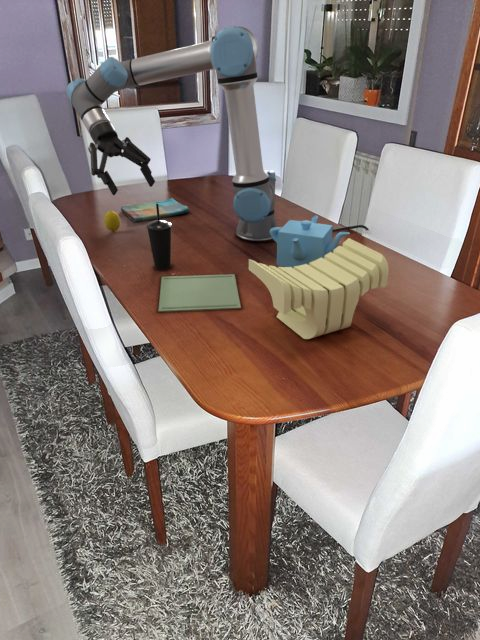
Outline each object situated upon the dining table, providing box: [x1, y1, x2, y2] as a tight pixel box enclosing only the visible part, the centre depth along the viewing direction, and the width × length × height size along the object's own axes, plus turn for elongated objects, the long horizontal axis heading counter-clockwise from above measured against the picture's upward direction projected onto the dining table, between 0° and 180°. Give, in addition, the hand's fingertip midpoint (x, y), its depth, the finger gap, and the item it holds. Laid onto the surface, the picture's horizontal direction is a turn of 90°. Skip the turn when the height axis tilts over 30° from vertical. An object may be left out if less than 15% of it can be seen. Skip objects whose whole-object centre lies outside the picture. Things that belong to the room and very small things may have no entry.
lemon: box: [103, 210, 121, 233], centre depth 189 cm, size 6×6×8 cm
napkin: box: [157, 273, 242, 313], centre depth 149 cm, size 22×22×1 cm
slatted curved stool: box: [248, 237, 390, 340], centre depth 129 cm, size 30×16×18 cm, turn 119°
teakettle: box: [270, 214, 351, 269], centre depth 161 cm, size 19×19×15 cm
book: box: [120, 197, 191, 223], centre depth 210 cm, size 17×23×2 cm
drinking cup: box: [145, 204, 173, 271], centre depth 159 cm, size 8×8×20 cm
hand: (134, 188), depth 159 cm, fingers open, 13 cm apart
